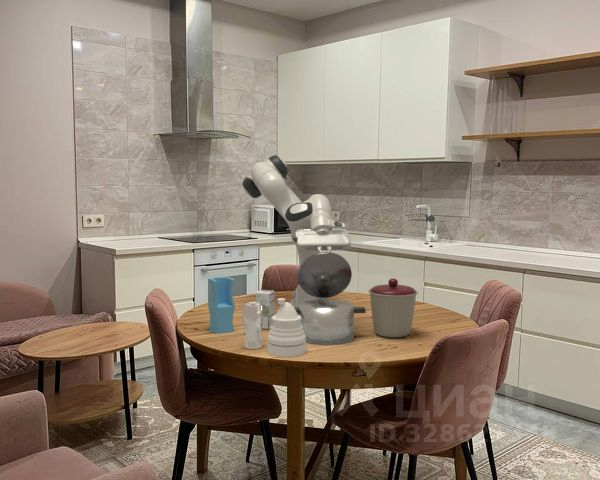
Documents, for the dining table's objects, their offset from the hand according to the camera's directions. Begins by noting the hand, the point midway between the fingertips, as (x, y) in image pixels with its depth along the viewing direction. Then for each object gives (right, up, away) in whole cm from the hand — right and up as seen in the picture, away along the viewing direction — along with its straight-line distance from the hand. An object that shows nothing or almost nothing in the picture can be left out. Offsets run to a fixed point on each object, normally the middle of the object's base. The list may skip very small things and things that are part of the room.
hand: (325, 257), depth 217 cm
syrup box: (-23, -28, +13) cm, 38 cm away
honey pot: (-14, -31, -19) cm, 39 cm away
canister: (+25, -29, +3) cm, 38 cm away
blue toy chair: (-39, -28, +9) cm, 49 cm away
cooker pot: (0, -29, -1) cm, 29 cm away
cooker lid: (0, -7, +3) cm, 7 cm away
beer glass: (-25, -30, -13) cm, 42 cm away
